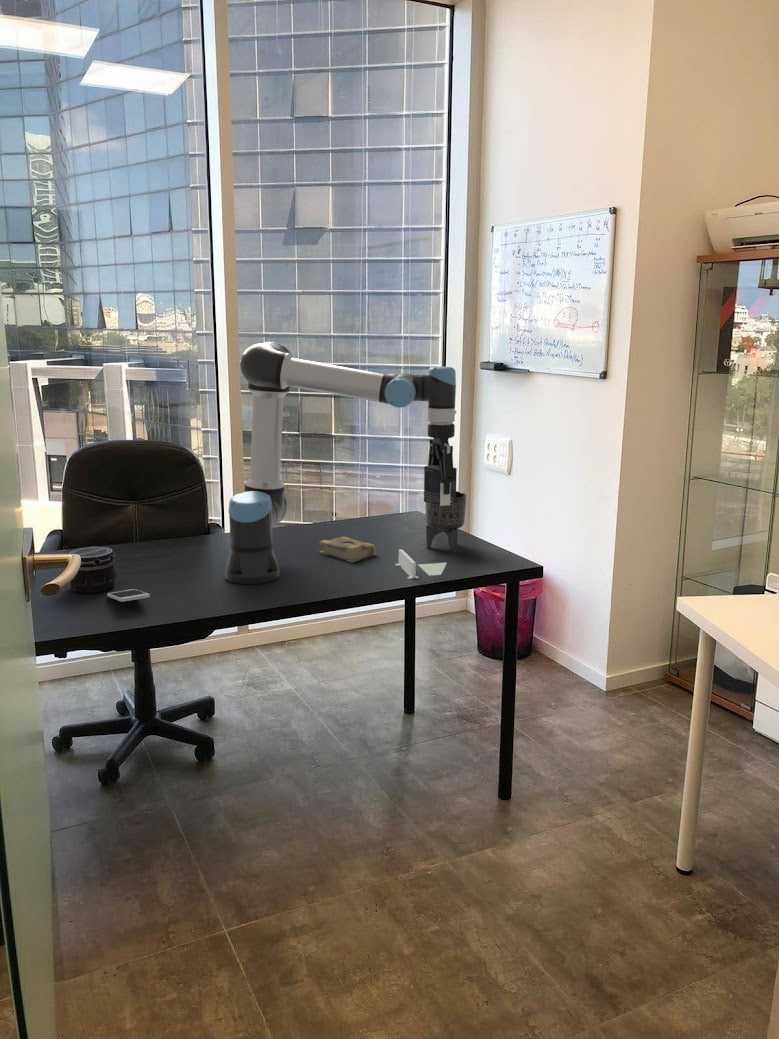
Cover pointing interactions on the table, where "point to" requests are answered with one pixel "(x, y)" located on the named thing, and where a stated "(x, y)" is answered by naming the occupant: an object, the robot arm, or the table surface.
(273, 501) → the robot arm
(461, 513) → the planter
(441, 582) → the table surface
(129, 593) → the smartphone
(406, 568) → the handle
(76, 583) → the container
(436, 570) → the pad
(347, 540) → the book
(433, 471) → the box
